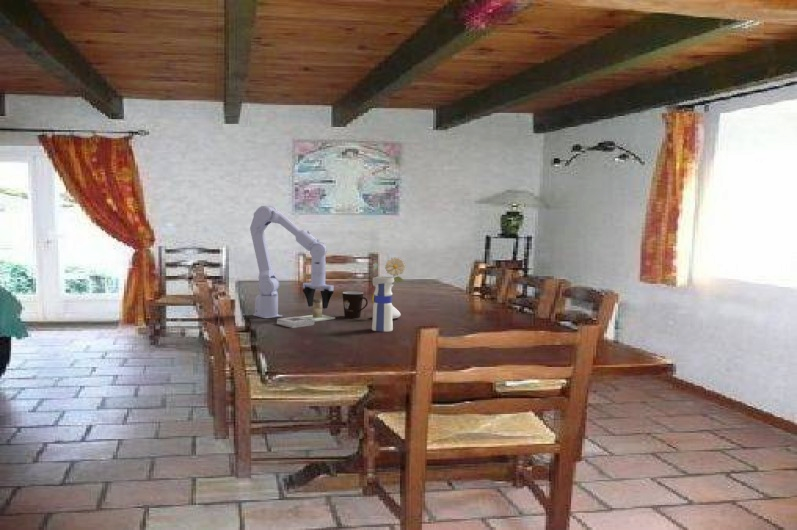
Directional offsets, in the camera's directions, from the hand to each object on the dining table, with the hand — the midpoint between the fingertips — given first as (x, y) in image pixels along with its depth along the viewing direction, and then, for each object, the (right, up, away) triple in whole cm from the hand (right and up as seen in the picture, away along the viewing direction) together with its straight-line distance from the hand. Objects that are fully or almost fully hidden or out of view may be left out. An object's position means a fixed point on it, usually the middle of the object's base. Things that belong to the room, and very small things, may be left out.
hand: (317, 307), depth 255 cm
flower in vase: (+28, -5, +5) cm, 29 cm away
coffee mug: (+14, -5, +5) cm, 15 cm away
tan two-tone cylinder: (0, -4, 0) cm, 4 cm away
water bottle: (+26, -7, -20) cm, 34 cm away
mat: (0, -5, 0) cm, 4 cm away
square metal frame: (-6, -6, -14) cm, 17 cm away
